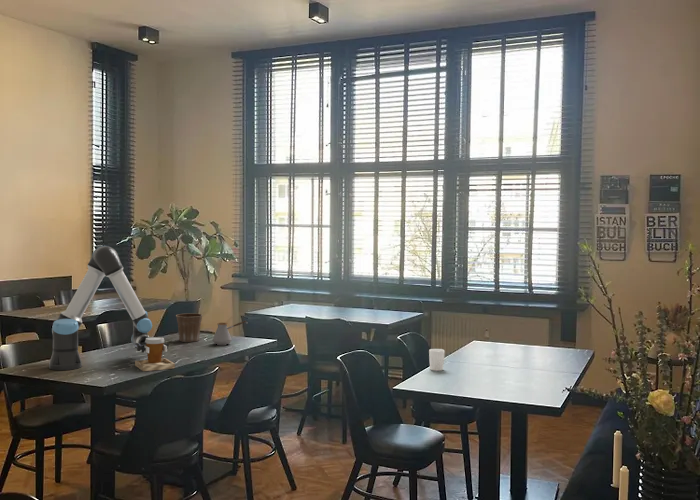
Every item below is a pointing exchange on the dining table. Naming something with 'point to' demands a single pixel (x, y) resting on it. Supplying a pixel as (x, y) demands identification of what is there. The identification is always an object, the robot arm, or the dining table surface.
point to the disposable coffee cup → (155, 349)
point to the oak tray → (154, 365)
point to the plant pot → (189, 326)
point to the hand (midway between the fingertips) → (157, 349)
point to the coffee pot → (223, 334)
